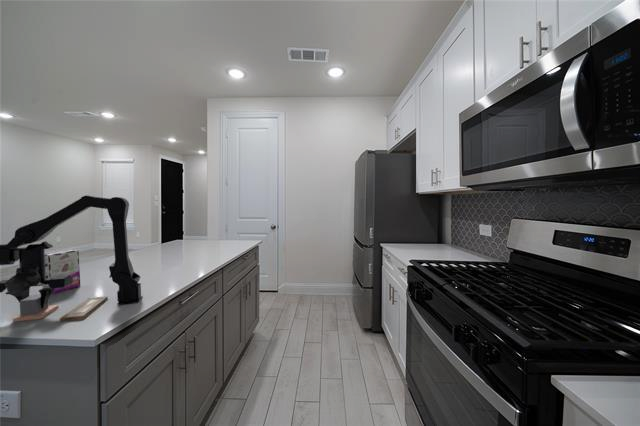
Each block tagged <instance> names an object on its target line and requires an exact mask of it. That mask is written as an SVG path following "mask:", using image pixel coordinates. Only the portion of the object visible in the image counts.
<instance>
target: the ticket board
mask: <svg viewBox="0 0 640 426" xmlns="http://www.w3.org/2000/svg"><path fill="white" fill-rule="evenodd" d="M106 301H108V296H98V297H96V296H95V297H89V298H87V299H85V300H84V301H82V302H81V303H79V304H78V305H76V306H75V307H74V308H72V309H71V310H70V311H68V312H67V313H65V314H64V315H62V316H60V318H59V322H60V323H62V322H71V321H81V320H85V319H86V318H87V317H88V316H90V315H91V314H92V313H94V312H95V310H97V309H98V308H99V307H101V306H102V305H103V304H104V303H105V302H106Z"/></svg>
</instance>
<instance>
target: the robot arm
mask: <svg viewBox="0 0 640 426" xmlns="http://www.w3.org/2000/svg"><path fill="white" fill-rule="evenodd" d="M129 203H130V202H129V201H128V199H126V198H124V197H122V196H121V197H120V196H114V197H111V198H109V197H107V198H106V197H98V196H94V195H84V196H81V197H80V198H79V199H77V200H76V201H73V202H71V203H70V204H68V205H67V206H65V207H63V208H62V209H60V210H58V211H56V212H54V213H53V214H50V215H48V216H47V217H45V218H42V219H40V220H38V221H34V222H32V223H28V224H25V225H23V226H20V227H19V228H17V229H16V230H15V231H14V237H12V238H11V240H10V241H9V242H8V243H6V244H5V243H3V244H1V243H0V266H10V265H14V264H15V262H18V261H19V262H18V263H19V267H17V268H16V271H15V274H14V275H13V276H12V277H10V278H9V279H1V280H0V293H3V292H4V291H5V290H7V291H6V292H5V295H10V296H13V297H14V298H15V299H17V301H18V303H19V304H20V301H21V300H23V299H25V298H27V297H29V296H30V290H31V289H30V288H31V287H42V288H41V289H39V290H38V292H39V294H41V308H45V306H46V304H47V302H48V303H49V300H50V298H51V295H53V294H52V293H53V291H54V289H55V288H62V287H65V286H67V285H69V284H71V283H73V278H72V276H70V275H66V276H57V277H55V278H53V279H49V280H46V279H47V278H48V275H46V273H45V267H47V266H48V263H46V264H45V254H46V252H45V250H49V249H52V248H53V247H54V246H53V245H52V244H50V243H49V242H47V241H46V240H45V241H43V240H44V239H45V238H46V237H48V236H49V235H50V234H51V233H53V231H54V230H55V229H56V228H58V227H59V226H60V225H62V224H64V223H66V222H67V221H69V220H71V219H73V218H74V217H76V216H78V215H79V214H81V213H83V212H84V211H86V210H88V209H89V208H97V209H104V210H107V213H108V216H109V219H110V220H111V223H112V234H113V235H112V236H113V249H114V262H112V264H110V266H108V268H109V273H110V274H109V277H108V278H109V279H111V280H112V282H113V283H115V284H117V286H118V290H117V293H116V295H117V296H116V298H117V306H121V305H130V304H131V305H133V304H138V303H140V302H141V300H142V299H143V298H144V297H143V295H142V283H141V282H140V280H141V275H139V274H138V273H136V272H135V271H134V268H133V263H132V262H131V259H130V257H129V245H128V244H129V243H128V231H127V230H128V229H127V219H128V213H129V208H130V204H129ZM40 241H42V242H41V243H36V242H40ZM33 243H34V244H33ZM35 243H36V244H35ZM25 245H27V246H25ZM23 246H25V247H23ZM139 282H140V283H139Z"/></svg>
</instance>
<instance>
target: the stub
mask: <svg viewBox="0 0 640 426" xmlns="http://www.w3.org/2000/svg"><path fill="white" fill-rule="evenodd" d="M57 309H59V305H58V304H57V305H54V304H53V305H49V301H48V302H47V304H46V306H45V308H41V294H40V293H35V294H31V295H29V297H27V298H25V299H23V300H21V301H20V303H19V313H20V314H18V315H17V316H15V317H13V318H12V322H22V321H32V320H40V319H43V318H45V317H46V316H49V314H51V313H54V311H56V310H57Z"/></svg>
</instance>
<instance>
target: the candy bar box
mask: <svg viewBox="0 0 640 426" xmlns="http://www.w3.org/2000/svg"><path fill="white" fill-rule="evenodd" d="M79 252H80V251H79V250H78V249H68V250H61V251H57V252H56V251H54V252H49V253H45V264H46V263H48V266H47V267H45V273H46V275H48V278H47V279H46V280H49V279H53V278H55V277H57V276H66V275H70V276H72V278H73V283H71V284H69V285H67V286H65V287H62V288H55V289H54V291H53V293H52V294H51V295H54V294H58V293H61V292H64V291H68V290H71V289H75V288H78V287H81V274H80V273H81V272H80V271H81V270H80V255H79Z"/></svg>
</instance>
